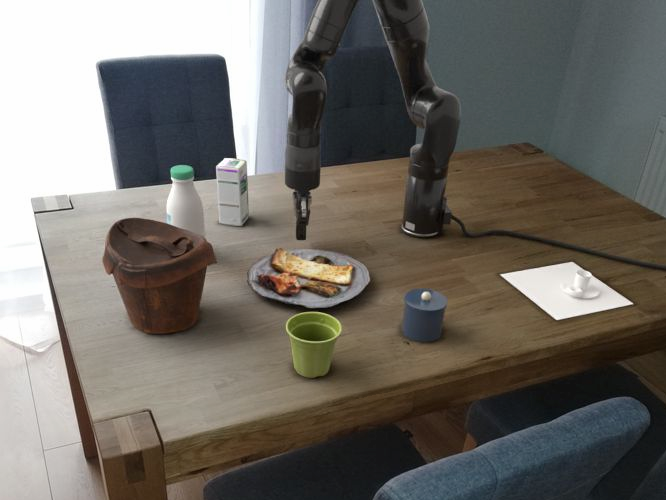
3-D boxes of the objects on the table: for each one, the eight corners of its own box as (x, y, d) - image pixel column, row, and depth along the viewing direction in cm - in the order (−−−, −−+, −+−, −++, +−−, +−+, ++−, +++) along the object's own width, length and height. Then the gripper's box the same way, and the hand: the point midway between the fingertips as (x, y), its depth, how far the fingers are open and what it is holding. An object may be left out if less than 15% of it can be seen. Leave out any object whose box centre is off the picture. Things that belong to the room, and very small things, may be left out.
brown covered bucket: (226, 336, 131) (223, 248, 121) (113, 349, 126) (99, 258, 116) (212, 289, 145) (208, 206, 135) (110, 299, 140) (97, 213, 130)
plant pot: (346, 360, 127) (349, 318, 122) (328, 390, 119) (330, 347, 115) (297, 348, 129) (298, 307, 124) (276, 376, 122) (276, 334, 117)
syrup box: (241, 226, 170) (240, 168, 162) (218, 223, 171) (215, 164, 163) (249, 217, 175) (248, 159, 167) (226, 214, 176) (223, 156, 168)
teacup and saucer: (573, 303, 148) (578, 286, 146) (550, 285, 154) (554, 268, 152) (607, 296, 151) (612, 279, 149) (582, 279, 157) (587, 262, 155)
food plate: (227, 295, 144) (226, 279, 142) (278, 249, 162) (278, 235, 160) (342, 325, 136) (343, 309, 134) (382, 273, 155) (384, 259, 153)
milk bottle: (213, 254, 158) (208, 166, 147) (193, 268, 152) (186, 177, 141) (184, 246, 160) (177, 159, 149) (163, 259, 155) (154, 170, 143)
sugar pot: (436, 319, 140) (442, 281, 135) (447, 342, 133) (453, 302, 129) (396, 320, 139) (401, 281, 134) (405, 343, 132) (410, 303, 128)
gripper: (323, 175, 146) (320, 252, 156) (317, 153, 157) (314, 226, 167) (287, 175, 145) (285, 252, 155) (283, 153, 156) (282, 226, 166)
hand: (300, 238), depth 161 cm, fingers closed
